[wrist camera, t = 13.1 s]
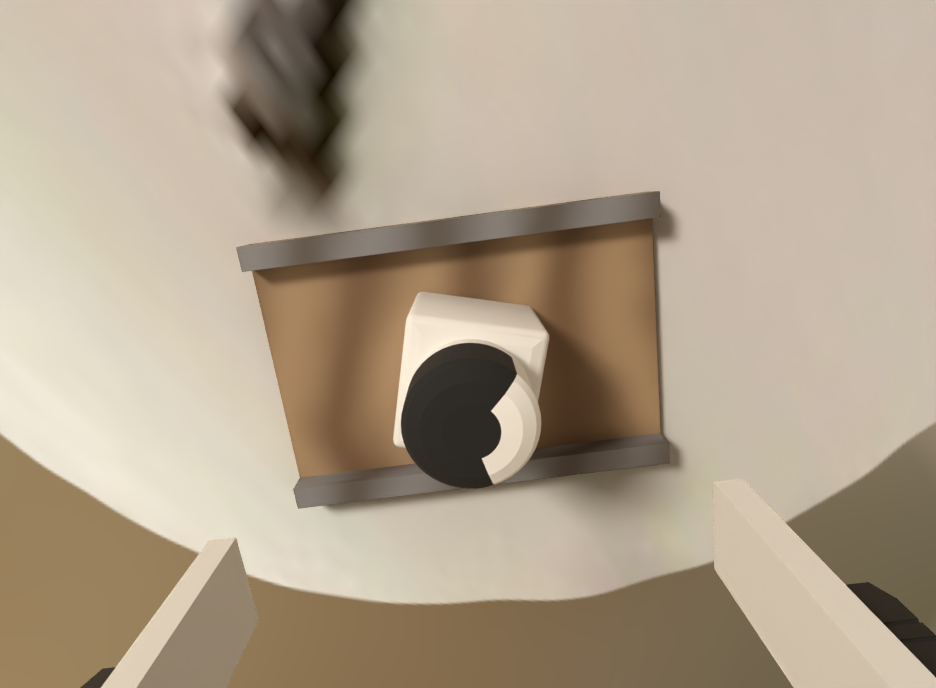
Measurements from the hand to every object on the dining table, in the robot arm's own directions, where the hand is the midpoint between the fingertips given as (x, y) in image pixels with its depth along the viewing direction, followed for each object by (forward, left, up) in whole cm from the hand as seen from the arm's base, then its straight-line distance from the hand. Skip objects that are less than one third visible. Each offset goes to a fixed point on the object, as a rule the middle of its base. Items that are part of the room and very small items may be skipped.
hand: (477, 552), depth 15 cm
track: (0, 0, -21) cm, 21 cm away
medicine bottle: (0, 0, -20) cm, 20 cm away
